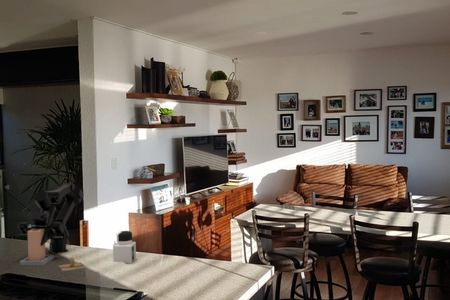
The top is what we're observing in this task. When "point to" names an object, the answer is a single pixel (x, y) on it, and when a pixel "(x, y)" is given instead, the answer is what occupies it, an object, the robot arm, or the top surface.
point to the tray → (27, 262)
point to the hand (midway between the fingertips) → (35, 245)
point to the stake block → (71, 265)
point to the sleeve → (36, 245)
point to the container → (124, 248)
